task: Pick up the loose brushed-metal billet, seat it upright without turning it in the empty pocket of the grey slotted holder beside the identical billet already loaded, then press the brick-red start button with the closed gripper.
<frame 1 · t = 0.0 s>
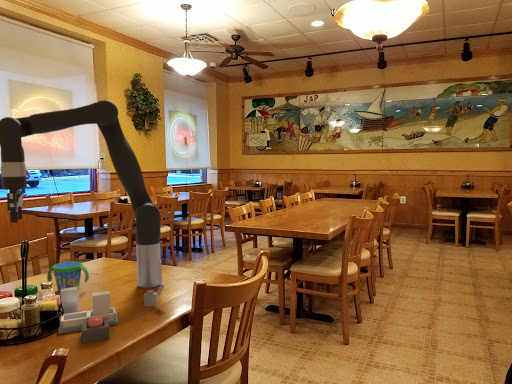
hand: (16, 220, 137), 29 cm above the table, tool pointing down, fingers open, 8 cm apart
button housing: (96, 335, 111), on the table
grey slotted holder: (89, 323, 119), on the table
lighter: (155, 305, 134), on the table
snack cup: (68, 290, 150), on the table
start button: (95, 323, 111), point 4 cm above the table, slide at 0.0 cm
billet: (70, 312, 128), on the table
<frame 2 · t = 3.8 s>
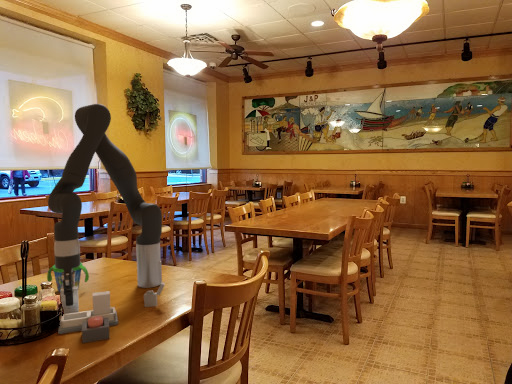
hand: (69, 303, 128), 3 cm above the table, tool pointing down, fingers closed on billet, 2 cm apart
billet: (70, 311, 128), on the table, touching gripper
everything else where it was.
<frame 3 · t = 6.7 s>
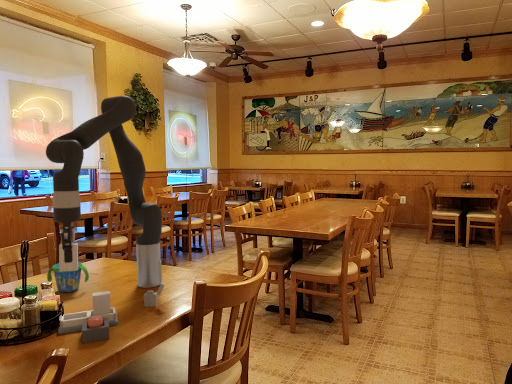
hand: (69, 260, 119), 20 cm above the table, tool pointing down, fingers closed on billet, 2 cm apart
billet: (69, 269, 119), point 17 cm above the table, touching gripper
everything else where it was.
when the fingers open (5 cm above the table, at t = 9.5 s): billet drops 2 cm, resting on grey slotted holder.
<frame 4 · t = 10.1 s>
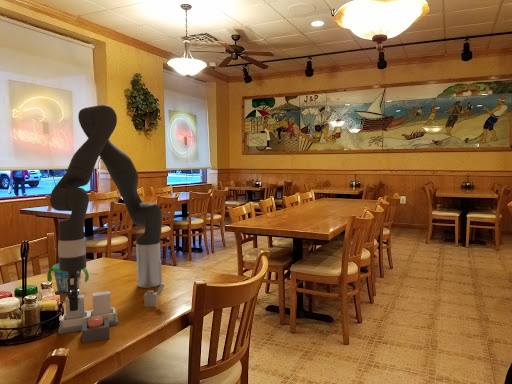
hand: (74, 305, 117), 6 cm above the table, tool pointing down, fingers open, 8 cm apart
billet: (76, 322, 118), point 1 cm above the table, touching grey slotted holder
everything else where it was.
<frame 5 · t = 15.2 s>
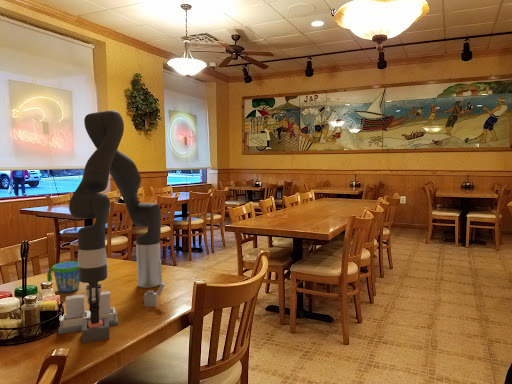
hand: (95, 322, 110), 4 cm above the table, tool pointing down, fingers closed
start button: (95, 326, 111), point 3 cm above the table, slide at 1.0 cm, touching gripper
everything else where it was.
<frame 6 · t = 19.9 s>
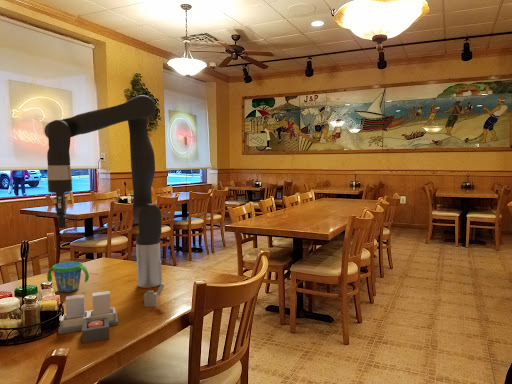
hand: (62, 227, 135), 27 cm above the table, tool pointing down, fingers closed
start button: (95, 327, 111), point 2 cm above the table, slide at 1.4 cm
everything else where it was.
at the end: billet 0.2 cm from the target spot on the grey slotted holder, point 1.0 cm above the grey slotted holder's base; billet tilted 0°; start button slide at 1.4 cm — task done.
